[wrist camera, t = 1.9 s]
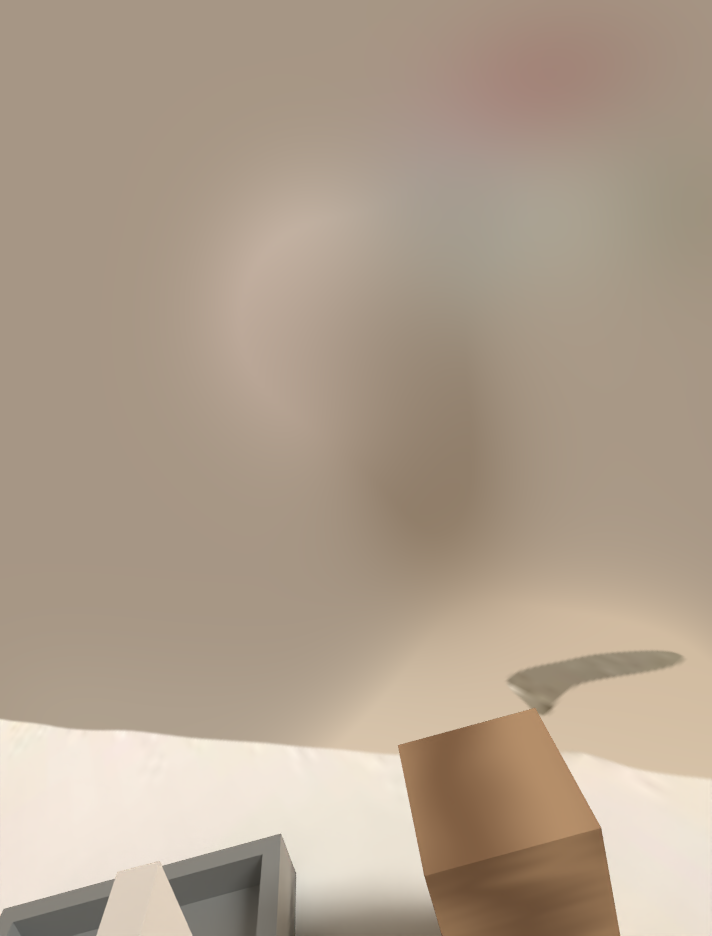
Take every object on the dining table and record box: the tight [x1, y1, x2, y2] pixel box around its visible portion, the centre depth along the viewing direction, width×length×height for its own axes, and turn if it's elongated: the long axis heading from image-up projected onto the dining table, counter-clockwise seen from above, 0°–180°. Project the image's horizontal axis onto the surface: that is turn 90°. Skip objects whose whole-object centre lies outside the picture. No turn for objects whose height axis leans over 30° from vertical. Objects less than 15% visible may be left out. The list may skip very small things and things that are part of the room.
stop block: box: [398, 708, 620, 936], centre depth 24 cm, size 6×6×12 cm
